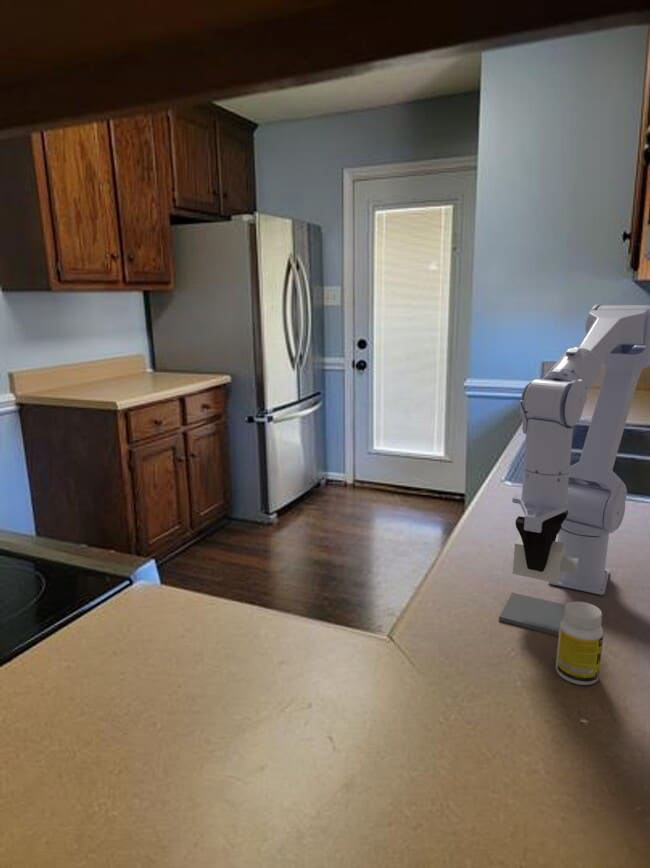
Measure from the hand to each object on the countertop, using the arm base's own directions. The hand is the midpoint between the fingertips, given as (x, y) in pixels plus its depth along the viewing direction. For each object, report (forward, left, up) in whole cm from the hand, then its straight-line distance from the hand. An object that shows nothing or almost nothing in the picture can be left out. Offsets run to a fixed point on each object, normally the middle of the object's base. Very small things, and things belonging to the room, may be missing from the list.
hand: (538, 563), depth 81 cm
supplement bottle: (+11, +7, -8) cm, 16 cm away
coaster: (0, 0, -8) cm, 8 cm away
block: (0, 0, -2) cm, 2 cm away
